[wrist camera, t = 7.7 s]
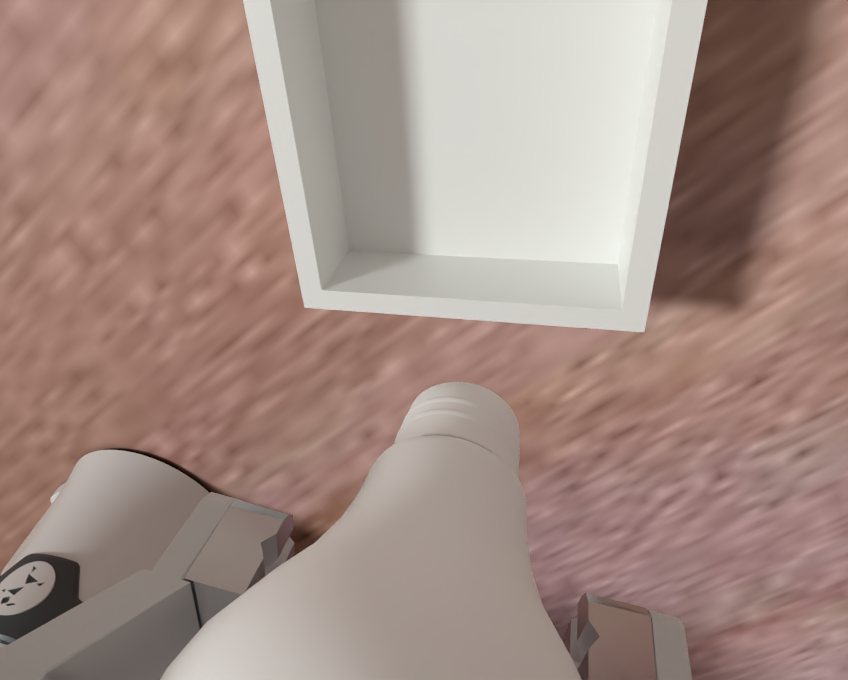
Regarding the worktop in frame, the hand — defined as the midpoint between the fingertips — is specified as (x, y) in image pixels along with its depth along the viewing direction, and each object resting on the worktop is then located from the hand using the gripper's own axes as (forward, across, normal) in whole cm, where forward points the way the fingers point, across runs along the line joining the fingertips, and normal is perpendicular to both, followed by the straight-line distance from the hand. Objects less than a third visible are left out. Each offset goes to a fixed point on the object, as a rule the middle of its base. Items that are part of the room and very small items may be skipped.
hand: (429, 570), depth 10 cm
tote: (+20, +3, -5) cm, 21 cm away
